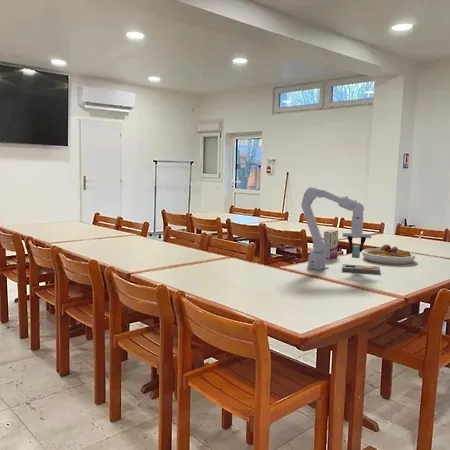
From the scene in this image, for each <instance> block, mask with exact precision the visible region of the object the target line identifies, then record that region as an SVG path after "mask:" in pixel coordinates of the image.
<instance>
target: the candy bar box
mask: <svg viewBox="0 0 450 450" xmlns="http://www.w3.org/2000/svg"><path fill="white" fill-rule="evenodd" d="M323 239H324V240H325V242H326V246H325V251H326V259H327V260H332V259H334V258H336V257H338V252H339V250H338V248H339V230H336V229H331V230H327V231H323Z"/></svg>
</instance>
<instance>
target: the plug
mask: <svg viewBox="0 0 450 450" xmlns="http://www.w3.org/2000/svg"><path fill="white" fill-rule="evenodd" d="M360 254H361V252H360V245H352V251H351V258H353V259H360V258H361V255H360Z"/></svg>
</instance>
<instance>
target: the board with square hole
mask: <svg viewBox="0 0 450 450" xmlns="http://www.w3.org/2000/svg"><path fill="white" fill-rule="evenodd" d="M361 266H364V265H363V264H362V265H361V264H349V263H348V264H346V263H343V264H342V268H341V272H345V273H346V272H347V273H355V274H356V273H358V274H371V275H372V274H373V275H381V267H380V266H373V265H371V266H372V267H375V269H364V268H361Z"/></svg>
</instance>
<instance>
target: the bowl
mask: <svg viewBox="0 0 450 450" xmlns="http://www.w3.org/2000/svg"><path fill="white" fill-rule="evenodd" d="M361 253H362V256H363V258H364V259H365V260H366V261H370V262H373V263H376V264H385V265H409V264H410V263H413V262H414V260H415V259H416V253H414V252H413V251H409V250H408V251H407V250H403V249H399V248H398V247H397V246H393V247H391V245H389V244H384V245H383V244H382V246H381V247H380V248H379V247H376V248H375V247H374V248H373V247H372V248H365V249H363V250H361Z"/></svg>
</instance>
